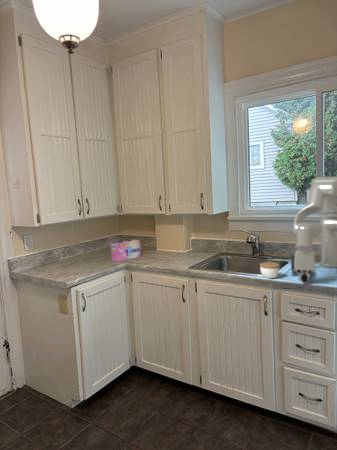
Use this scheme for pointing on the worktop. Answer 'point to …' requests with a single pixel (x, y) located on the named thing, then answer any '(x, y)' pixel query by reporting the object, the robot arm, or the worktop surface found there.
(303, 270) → the lock block
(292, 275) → the coupler socket
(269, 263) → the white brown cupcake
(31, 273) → the worktop surface
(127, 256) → the gum box
